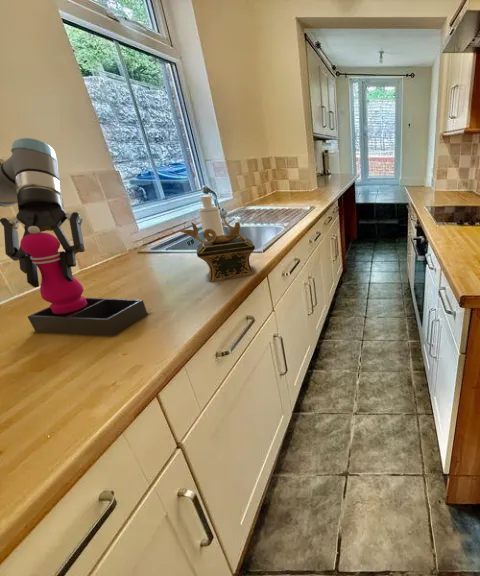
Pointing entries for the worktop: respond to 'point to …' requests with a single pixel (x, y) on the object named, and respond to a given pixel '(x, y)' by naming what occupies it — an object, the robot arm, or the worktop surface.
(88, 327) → the divided tray
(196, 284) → the worktop surface
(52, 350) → the worktop surface
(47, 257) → the pepper mill
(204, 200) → the cream bottle
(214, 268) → the decorative box
